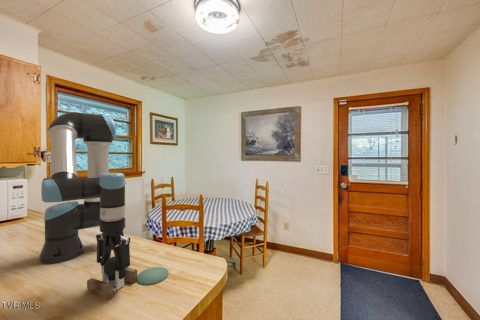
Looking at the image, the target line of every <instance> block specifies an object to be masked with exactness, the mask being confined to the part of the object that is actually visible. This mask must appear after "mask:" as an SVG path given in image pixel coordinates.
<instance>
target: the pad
mask: <svg viewBox="0 0 480 320" xmlns="http://www.w3.org/2000/svg"><path fill="white" fill-rule="evenodd" d="M168 277H169V270H168V269H167V268H166V267H163V266H153V267H150V268H146V269H144V270H142V271H141V272H139V273H137V281H136V282H137V283H138V284H140V285H143V286H150V285H155V284H158V283H161V282H163V281H164V280H166V279H167V278H168Z"/></svg>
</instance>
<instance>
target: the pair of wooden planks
mask: <svg viewBox="0 0 480 320" xmlns="http://www.w3.org/2000/svg"><path fill="white" fill-rule="evenodd" d="M137 276H138V269H136V268H131V267H127V268H125V277H124V282H125V281H126V282H128V283H132V284H135V283H136V282H137ZM86 292H87V294H91V295H93V296H96V297H99V298H102V299H104V300H105V299H106V300H108V301H109V300H111V299H112V298H114V287H113V284H110V283H106V282H103V281H102V280H100V279H96V278H93V277H91V278H88V279H87V280H86Z"/></svg>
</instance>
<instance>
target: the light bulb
mask: <svg viewBox="0 0 480 320" xmlns="http://www.w3.org/2000/svg"><path fill="white" fill-rule="evenodd" d="M116 269H117V264H116V260H115V256H112V257H111V256H110V258H109V259H108V260H107V261H106V262H105V264H104V272H105V273H106V275H107V276H108V279H109V283H110V284H113V288H114V287H116V282H115V270H116Z"/></svg>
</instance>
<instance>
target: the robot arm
mask: <svg viewBox="0 0 480 320" xmlns="http://www.w3.org/2000/svg"><path fill="white" fill-rule="evenodd" d="M47 136H48V137H49V139H50V163H49V164H50V167H49V169H50V172H49V179H44V180H42V181H41V190H40V192H41V201H42V202H43V203H46V204H47V203H58V204H53V205H52V206H49V207H48V208H46V209H45V210H44V218H43V220H44V243H43V246H42V249H41V250H40V251H41V252H40V253H39V262H40V263H42V264H47V265H48V264H57V263H62V262H66V261H69V260H72V259H75V258H77V257H79V256H80V255H82V254H83V253H84V245H83V243H82V241H81V239H80V235H79V230H80V231H81V230H86V229H91V228H96V227H97V228H98V227H99V232H100V233H98V234H96V235H95V238H96V263H97V264H99V265H100V266H101V277H102V279H101V281H103V282H106V283H109V279H108V276H107V275H106V273H105V272H104V264H105V262H106V261H107V260H108V259H109V258H111V256H112V255H111V254H112V251H113V254H114V257H115V260H116V264H117V269H116V270H115V282H116V285H115V290H116V291H117V290H118V291H119V290H120V288H122V287H124V286H125V280H124V277H125V268H127V267H128V268H130V266H131V255H130V250H131V249H130V245H131V244H130V243H131V237H125V235H124V234H125V233H124V229H125V228H126V218H125V217H126V184H127V183H126V176H125V174H124V173H122V172H110V169H109V168H110V166H109V162H110V161H109V155H110V154H109V153H110V151H109V150H110V149H109V147H110V146H111V145H112V144H113V141H114V140H116V138H117V130H116V124H115V121H114V119H113V117H111V116H110V115H105V114H95V113H86V112H77V111H71V112H66V113H63V114H60V115H59V116H57V117H56V118H55V119H53V120H52V121H51V122H50V124H49V125H48V129H47ZM77 139H83V140H82V141H83V143H84V144H85V145H86V147H87V177H82V178H81V177H79V178H78V171H77V170H78V167H77V155H76V140H77ZM78 200H79V201H81V200H83V203H80V204H79V202H78Z"/></svg>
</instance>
